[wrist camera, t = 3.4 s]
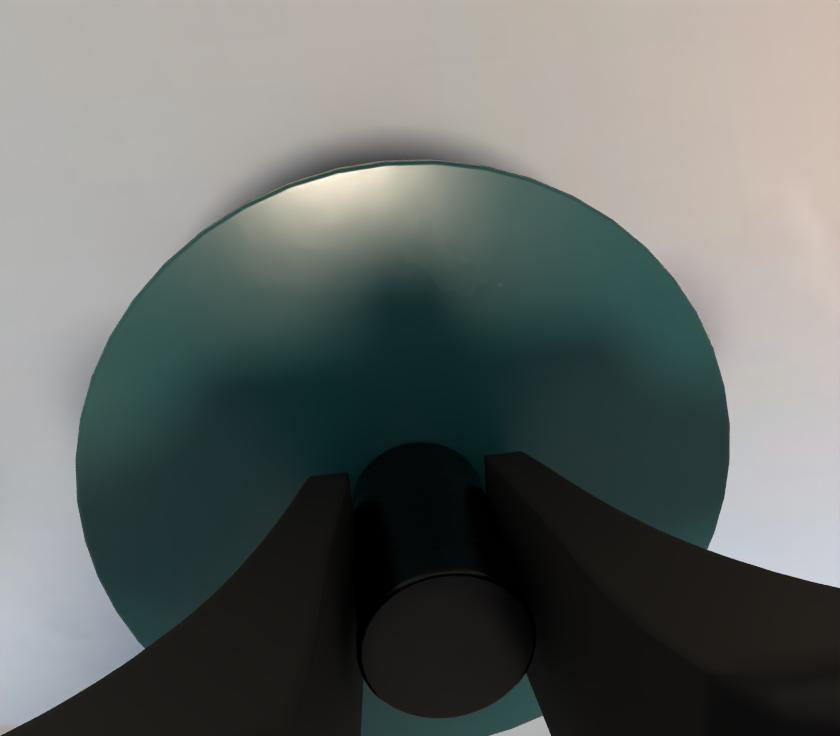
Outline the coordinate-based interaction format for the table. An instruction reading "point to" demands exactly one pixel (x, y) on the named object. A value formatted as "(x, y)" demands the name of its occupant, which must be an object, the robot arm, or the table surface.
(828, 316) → the table surface
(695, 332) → the pot lid
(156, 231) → the table surface
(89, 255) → the table surface
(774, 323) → the table surface
